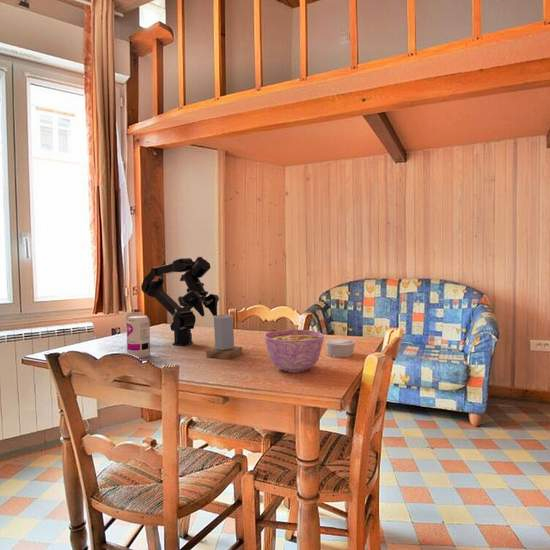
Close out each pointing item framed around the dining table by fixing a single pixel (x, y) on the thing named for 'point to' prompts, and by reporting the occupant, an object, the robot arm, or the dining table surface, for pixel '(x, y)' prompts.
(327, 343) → the ramekin
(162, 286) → the robot arm
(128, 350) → the supplement can
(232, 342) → the tin
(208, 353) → the brown square tray
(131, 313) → the character mug
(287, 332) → the bowl of food
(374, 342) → the dining table surface
